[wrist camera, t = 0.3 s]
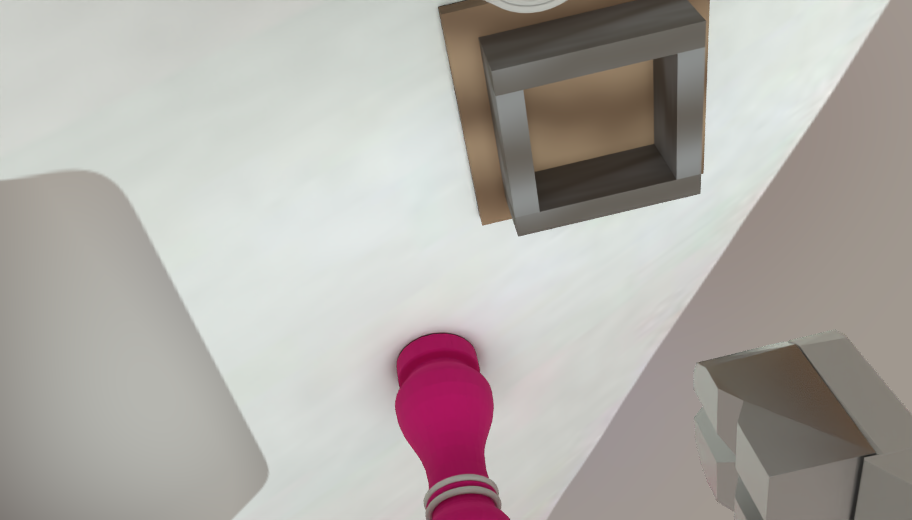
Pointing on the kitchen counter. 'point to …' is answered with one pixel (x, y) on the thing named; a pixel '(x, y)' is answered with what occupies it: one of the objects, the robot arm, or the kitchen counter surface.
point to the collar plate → (579, 106)
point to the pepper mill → (448, 426)
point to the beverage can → (526, 5)
